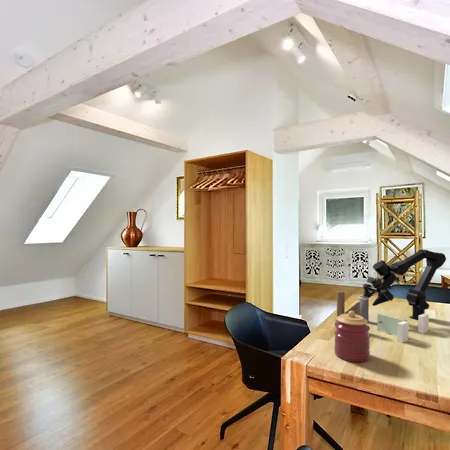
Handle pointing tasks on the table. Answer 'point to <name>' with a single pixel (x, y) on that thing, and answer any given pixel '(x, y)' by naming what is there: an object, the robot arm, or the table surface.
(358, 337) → the canister
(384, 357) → the table surface
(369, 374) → the table surface
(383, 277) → the robot arm
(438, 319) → the table surface
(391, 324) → the door
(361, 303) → the post
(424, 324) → the wall frame
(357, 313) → the toy block tower
